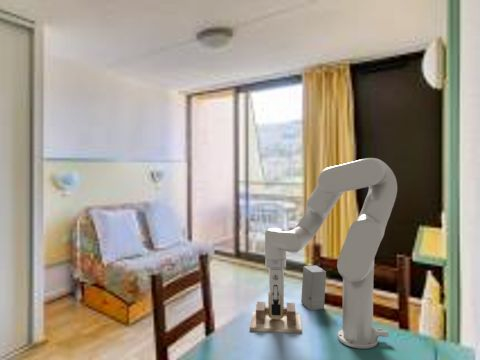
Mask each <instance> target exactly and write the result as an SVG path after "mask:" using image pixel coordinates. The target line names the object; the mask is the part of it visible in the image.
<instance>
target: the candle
mask: <svg viewBox="0 0 480 360" xmlns="http://www.w3.org/2000/svg"><path fill="white" fill-rule="evenodd" d="M277 289H278V288H277ZM273 295H274V294H273ZM277 295H279V294H277ZM284 296H285V295H284ZM284 296H283V297H282V296H280V304H281V315H272V307H271V304H272V296H271V295H270V291H269V292H268V293H267V299H268V301H267V302H268V304H267V305H268V306H267V307H269V317H270V318H272V319H281V318H283V317H284V307H285V305H284V304H285V302H284ZM277 299H278V297H277Z"/></svg>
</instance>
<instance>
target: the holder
mask: <svg viewBox="0 0 480 360" xmlns="http://www.w3.org/2000/svg"><path fill="white" fill-rule="evenodd" d="M251 315H252V316H251V319H250V324H249V332H267V333H268V332H269V333H271V332H272V333H293V334H303V332H302V331H303V328H302V321H301V320H302V319H301V312H296V303H295V302H286V306H284V317H283V318H281V319H272V318H270V317H269V306H266V301H257V302H256V308H255V310H253V311H252V314H251Z"/></svg>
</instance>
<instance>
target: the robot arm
mask: <svg viewBox="0 0 480 360" xmlns="http://www.w3.org/2000/svg"><path fill="white" fill-rule="evenodd" d="M364 188H365V189H366V188H368V191H367V195H366V196H365V199H364V202H363V205H362V208H361V210H360V212H359V214H358V217H357V218H356V219H355V220H354V221H353V222H352V224H351V225H350V226H349V228H348V231H347V234H346V237H345V239H344V242H343V243H342V247H341V250H340V253H339V255H338V258H337V263H336V266H337V271H338V273H339V275H340V276H341V277H342V329H339V331H338V332H337V339H338V341H339V342H341V344H343V345H345V346H347V347H350V348H353V349H354V348H355V349H362V350H365V349H371V348H375V347H376V346H377V345H378V343H379V339H378V338H380V337H381V338H389V331H388V330H383V328H382V327H375V326H374V274H375V257H376V255H377V252H378V250H379V247H380V244H381V242H382V240H383V238H384V236H385V231H386V227H387V225H388V221H389V219H390V217H391V213H392V211H393V208H394V205H395V202H396V198H397V194H398V181H397V178H396V175H395V174H394V172H393V170H392V169H391V168H390V166H389V165H388V164H387V163H386V162H384V161H383V160H381V159H379V158H375V157H366V158H361V159H358V160H357V159H356V160H355V161H350V162H347V163H343V164H339V165H334V166H329V167H326V168H324V169H323V170H321V172H320V173H319V175H318V178H317V185H316V186H315V188H314V189H313V191H312V192H311V194H310V196H309V197H308V199H307V200H306V203H305V212H304V214H303V216H302V217H301V219H300V220H299V222H298V223H297V225H296V226H295V227H294V228H292V229H290V230H287V231H286V230H285V229H284V228H281V227H270V228H269V227H268V228H267V229H266V230H264V231H265V232H264V257H265V258H264V259H265V261H264V262H265V268H267V269H268V286H269V292H270V295H271V296H272V304H271V307H272V315H281V304H280V296H282V297H283V296H285V289H284V288H285V284H284V283H285V275H284V269H286V268H287V253H294V254H295V253H298V252H300V251H302V250H303V249H304V248H305V247H306V246H307V247H308V245H309V244H310V243H311V241H312V240H313V239H314V237H315V236H316V235H317V233H318V232H319V230H320V228H321V227H322V225H323V223H324V222H325V221H326V220H327V218H328V216H329V214H330V213H331V211H332V210H333V208H334V207H335V205H336V204H337V202H338V201H339V200H340V199H341V197H342V196H343V194H344V193H346V192H350V191H355V190H360V189H364ZM277 288H278V289H277ZM273 294H274V295H273ZM277 294H279V295H277ZM277 297H278V299H277Z"/></svg>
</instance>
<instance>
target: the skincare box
mask: <svg viewBox="0 0 480 360" xmlns="http://www.w3.org/2000/svg"><path fill="white" fill-rule="evenodd" d="M326 278H327V271H326V270H324V269H323V268H322V267H320V266H318V265H315V264H314V265H304V266H302V280H301V281H302V284H301V297H300V298H301V301H300V303H301V304H302V305H303V304H304V305H303V306H305V308H307V309H308V310H310V311H316V310H317V311H318V310H325V299H326V295H325V294H326V284H327V283H326V282H327V281H326V280H327V279H326Z"/></svg>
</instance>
